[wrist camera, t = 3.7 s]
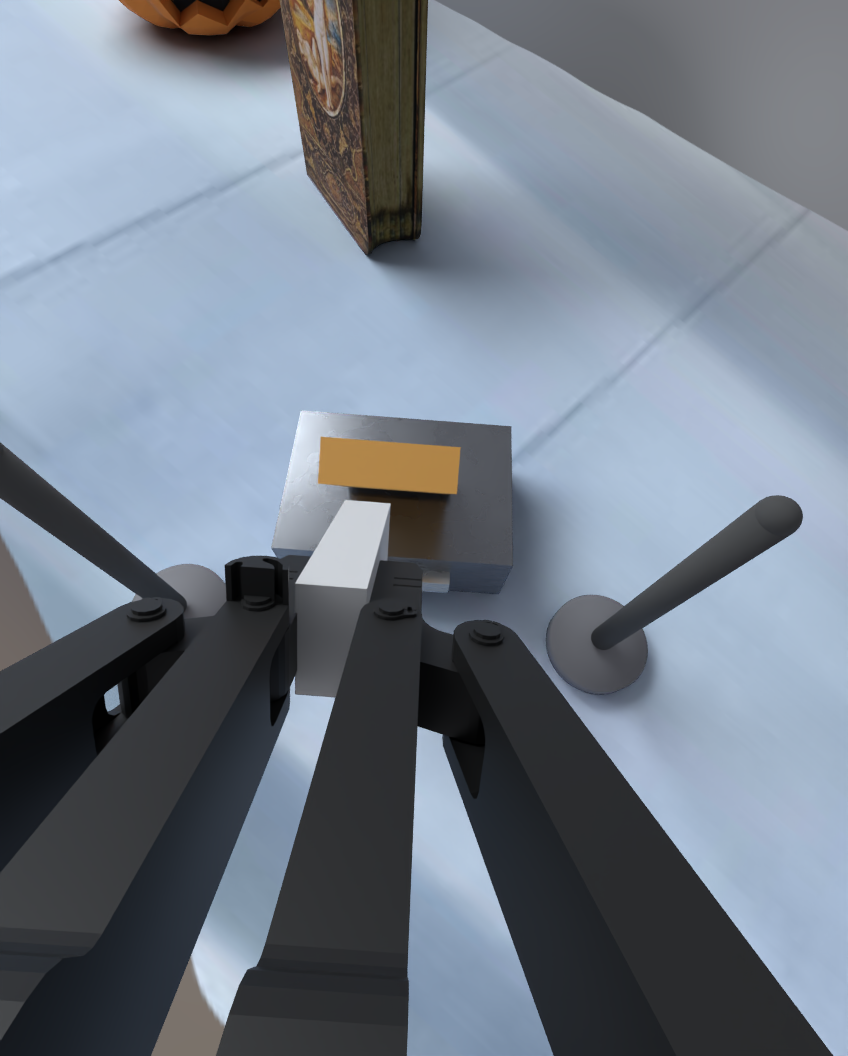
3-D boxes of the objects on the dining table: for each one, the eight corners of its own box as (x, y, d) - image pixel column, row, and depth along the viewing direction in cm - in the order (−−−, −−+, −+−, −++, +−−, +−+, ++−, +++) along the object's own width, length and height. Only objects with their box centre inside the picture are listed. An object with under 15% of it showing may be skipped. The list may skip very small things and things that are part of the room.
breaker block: (498, 605, 34) (512, 578, 29) (286, 589, 34) (268, 560, 29) (498, 467, 39) (511, 426, 34) (313, 453, 39) (300, 410, 34)
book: (302, 168, 55) (231, -259, 32) (349, 156, 56) (313, -263, 33) (369, 261, 48) (340, -187, 26) (420, 245, 50) (435, -195, 27)
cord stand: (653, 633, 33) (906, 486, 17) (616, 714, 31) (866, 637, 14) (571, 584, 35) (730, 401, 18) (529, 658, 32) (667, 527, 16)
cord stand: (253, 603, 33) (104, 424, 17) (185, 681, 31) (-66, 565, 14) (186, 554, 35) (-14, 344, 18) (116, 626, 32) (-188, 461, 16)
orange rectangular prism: (450, 494, 32) (461, 494, 22) (347, 486, 32) (313, 483, 22) (453, 462, 32) (465, 447, 22) (349, 454, 32) (316, 436, 22)
